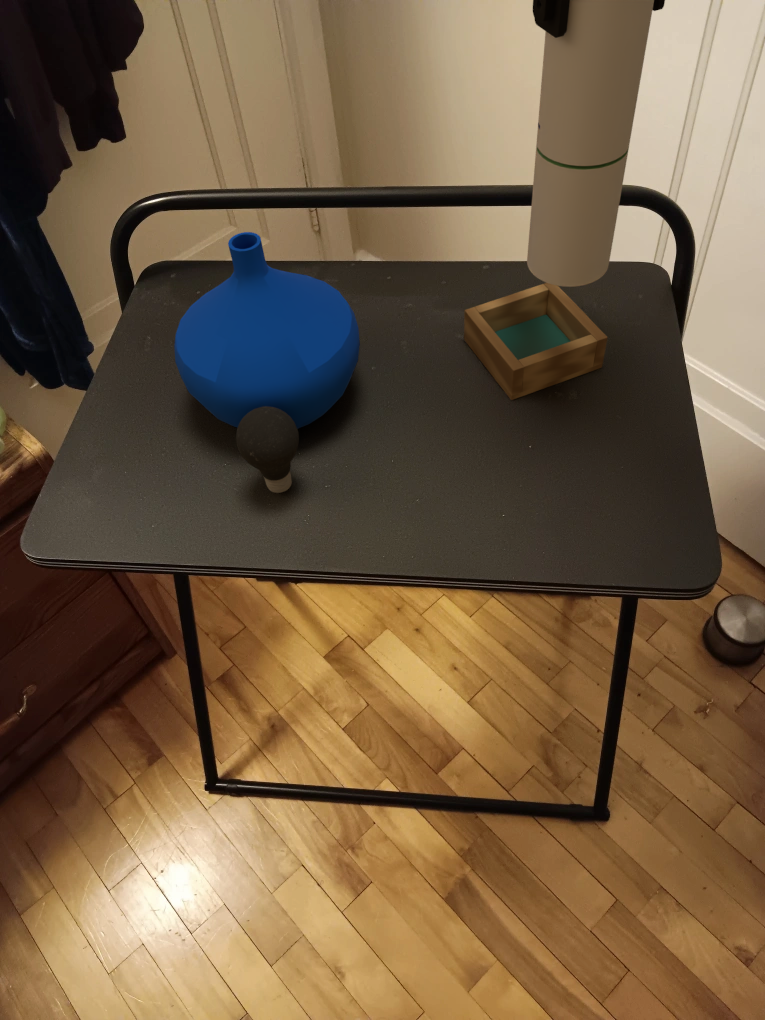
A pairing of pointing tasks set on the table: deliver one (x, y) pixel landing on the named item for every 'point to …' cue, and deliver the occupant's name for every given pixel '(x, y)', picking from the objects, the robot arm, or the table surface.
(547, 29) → the robot arm
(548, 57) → the cylindrical container
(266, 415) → the light bulb
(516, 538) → the table surface
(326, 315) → the vase
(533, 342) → the square wooden tray
